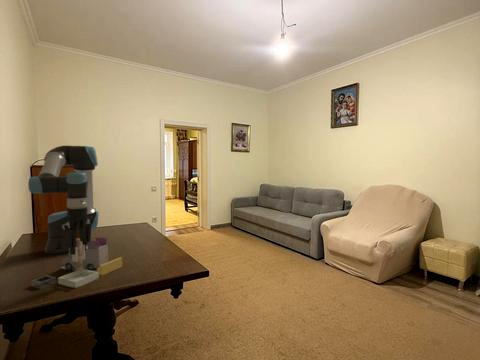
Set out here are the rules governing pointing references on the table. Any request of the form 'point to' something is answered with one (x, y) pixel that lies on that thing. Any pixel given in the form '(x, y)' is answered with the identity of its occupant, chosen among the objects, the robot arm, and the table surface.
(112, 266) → the block
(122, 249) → the table surface
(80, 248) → the pin
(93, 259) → the toy vehicle
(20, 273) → the table surface
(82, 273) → the tray
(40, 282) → the socket
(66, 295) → the table surface
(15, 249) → the table surface
